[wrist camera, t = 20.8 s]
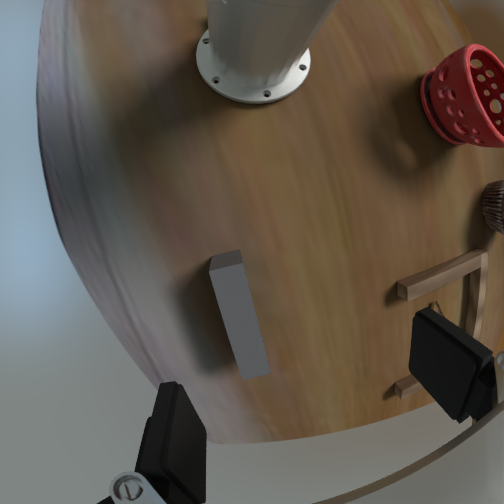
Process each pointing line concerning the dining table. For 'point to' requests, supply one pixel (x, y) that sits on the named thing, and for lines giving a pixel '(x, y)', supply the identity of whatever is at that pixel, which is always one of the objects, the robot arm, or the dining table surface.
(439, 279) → the walnut frame
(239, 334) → the block
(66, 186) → the dining table surface
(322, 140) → the dining table surface
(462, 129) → the plant pot
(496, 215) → the cupcake
